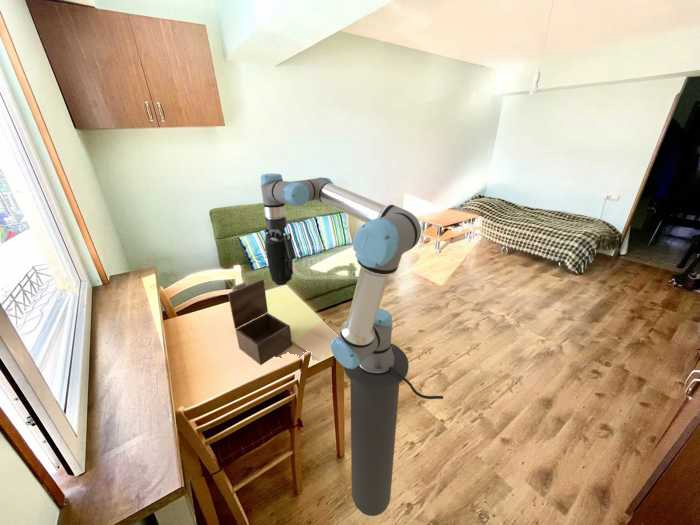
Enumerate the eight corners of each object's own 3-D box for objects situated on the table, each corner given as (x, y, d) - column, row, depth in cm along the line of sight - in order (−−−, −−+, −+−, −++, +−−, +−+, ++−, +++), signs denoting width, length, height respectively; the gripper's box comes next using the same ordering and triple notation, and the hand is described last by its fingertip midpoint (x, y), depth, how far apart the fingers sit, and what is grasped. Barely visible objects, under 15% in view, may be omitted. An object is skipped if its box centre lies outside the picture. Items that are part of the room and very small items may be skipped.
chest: (292, 344, 122) (290, 325, 118) (260, 365, 111) (257, 345, 107) (270, 330, 131) (267, 312, 127) (239, 348, 120) (235, 329, 116)
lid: (263, 279, 120) (253, 274, 125) (228, 293, 109) (219, 287, 113) (268, 312, 127) (258, 306, 132) (235, 328, 116) (226, 321, 120)
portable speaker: (277, 274, 119) (271, 231, 110) (297, 276, 117) (292, 233, 108) (266, 284, 112) (259, 239, 103) (287, 287, 109) (282, 242, 100)
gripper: (302, 219, 100) (306, 275, 108) (267, 211, 113) (273, 261, 122) (285, 224, 94) (291, 282, 103) (250, 214, 108) (258, 267, 116)
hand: (281, 271), depth 112 cm, fingers closed on portable speaker, 9 cm apart
